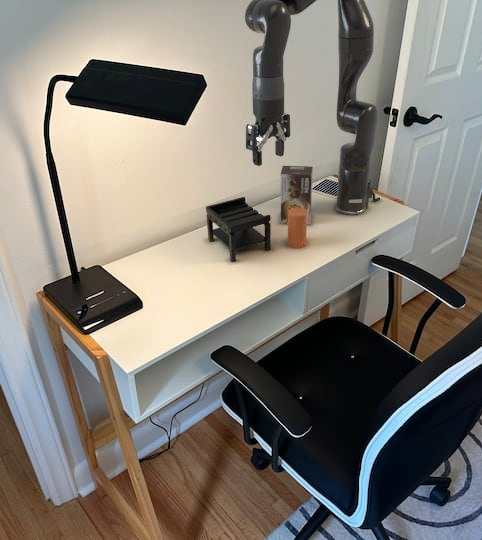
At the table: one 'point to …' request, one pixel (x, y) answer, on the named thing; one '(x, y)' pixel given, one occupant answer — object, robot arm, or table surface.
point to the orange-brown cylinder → (297, 227)
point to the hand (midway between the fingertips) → (268, 160)
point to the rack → (237, 225)
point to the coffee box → (296, 190)
